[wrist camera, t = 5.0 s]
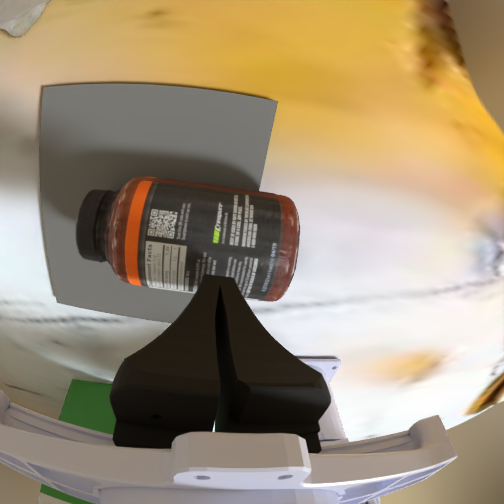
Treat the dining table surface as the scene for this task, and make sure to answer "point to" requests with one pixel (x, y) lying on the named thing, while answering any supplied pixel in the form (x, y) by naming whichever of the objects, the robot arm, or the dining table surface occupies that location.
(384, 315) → the dining table surface
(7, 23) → the incense holder
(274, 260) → the supplement bottle
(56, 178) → the mat
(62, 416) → the hardback book
